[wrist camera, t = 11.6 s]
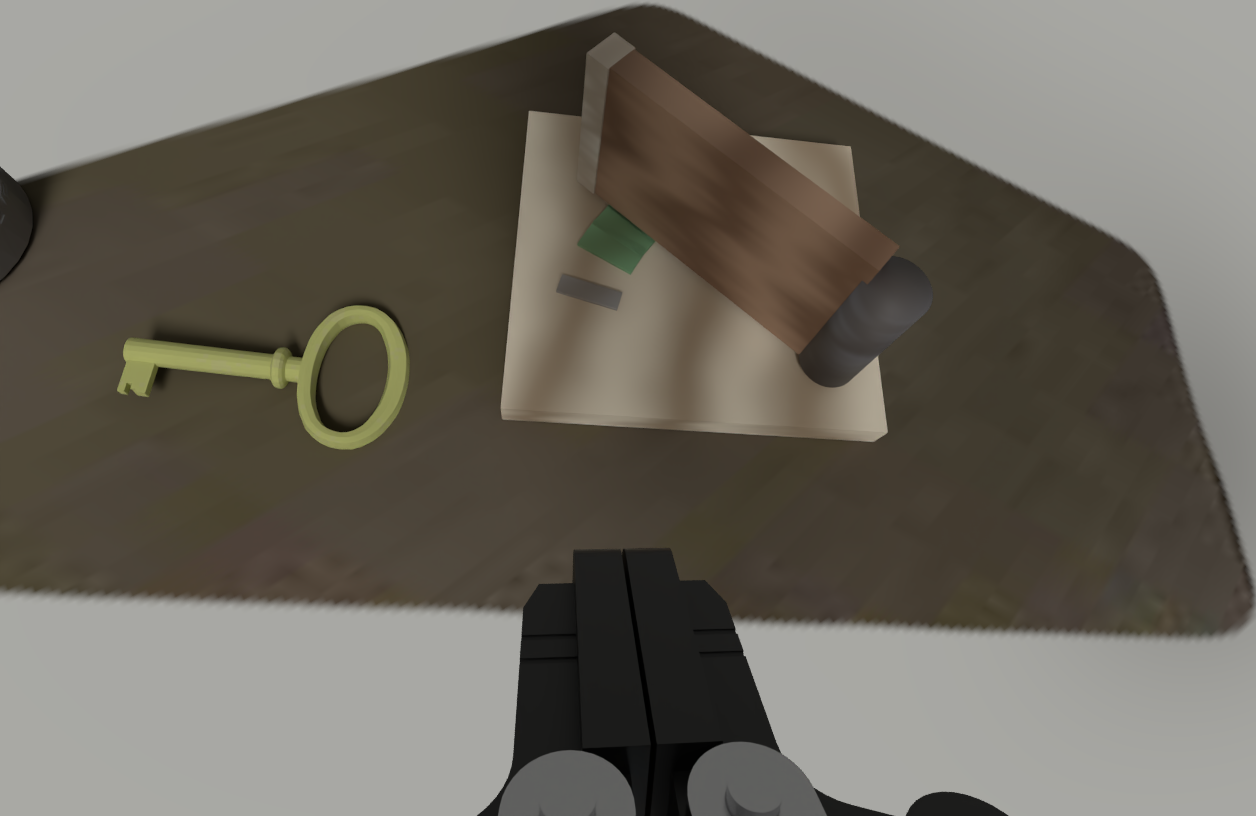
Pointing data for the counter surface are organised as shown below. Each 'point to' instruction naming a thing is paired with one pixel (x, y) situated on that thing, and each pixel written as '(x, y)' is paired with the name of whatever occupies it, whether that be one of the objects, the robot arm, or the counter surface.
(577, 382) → the beige flat square sheet
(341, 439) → the key
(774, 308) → the brown wood panel
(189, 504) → the counter surface
